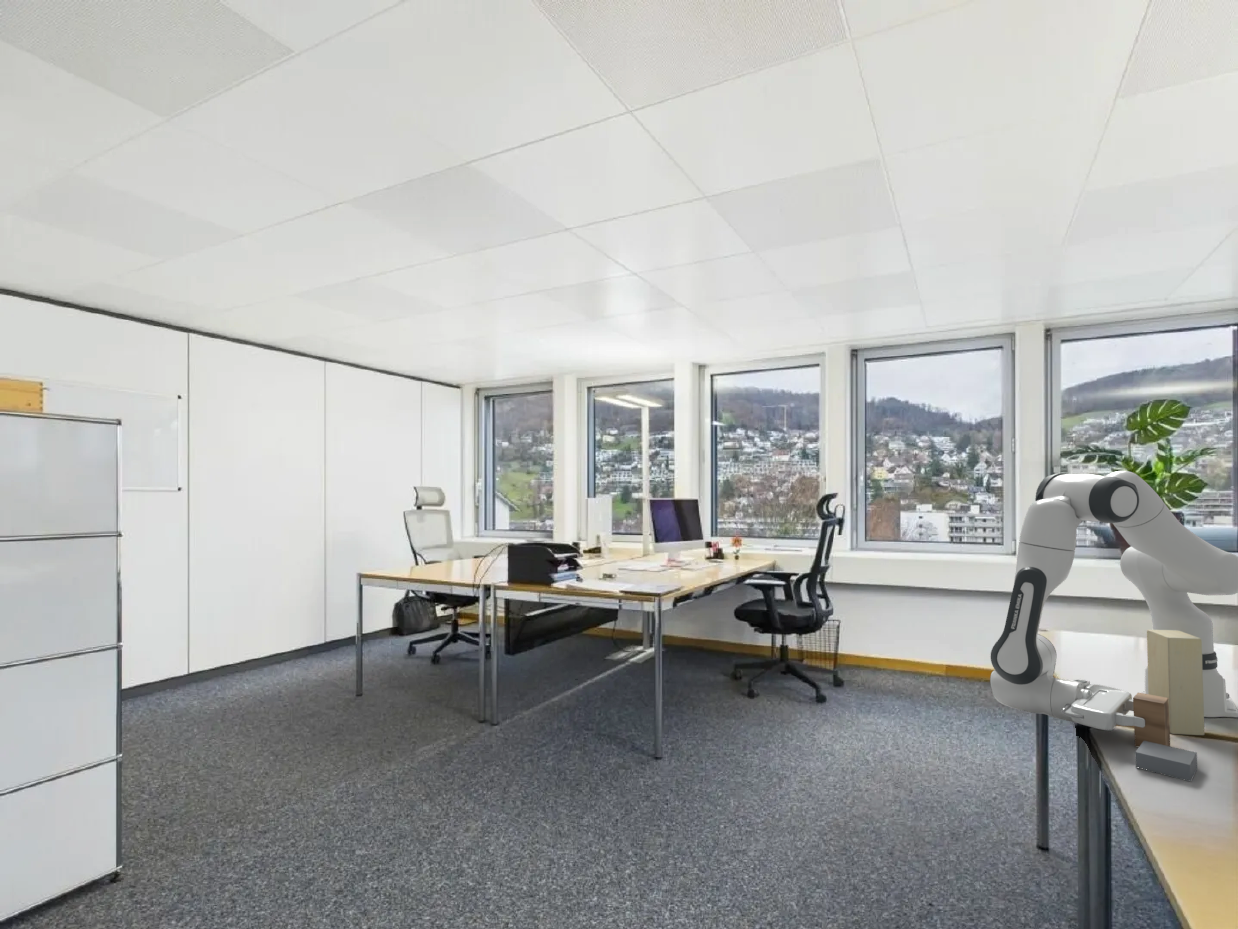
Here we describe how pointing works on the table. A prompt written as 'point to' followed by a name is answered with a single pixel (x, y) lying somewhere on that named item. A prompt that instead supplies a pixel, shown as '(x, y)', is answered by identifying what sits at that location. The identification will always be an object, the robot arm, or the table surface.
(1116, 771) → the table surface
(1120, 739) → the table surface
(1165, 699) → the walnut brick
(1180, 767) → the base brick
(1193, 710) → the tall pale wood block
